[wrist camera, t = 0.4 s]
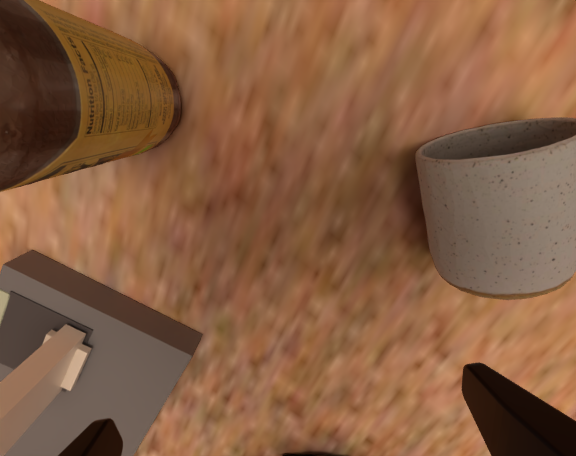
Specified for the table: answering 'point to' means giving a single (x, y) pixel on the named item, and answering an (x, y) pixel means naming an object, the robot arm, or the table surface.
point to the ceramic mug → (502, 206)
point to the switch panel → (102, 358)
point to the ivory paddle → (39, 382)
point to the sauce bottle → (75, 94)
